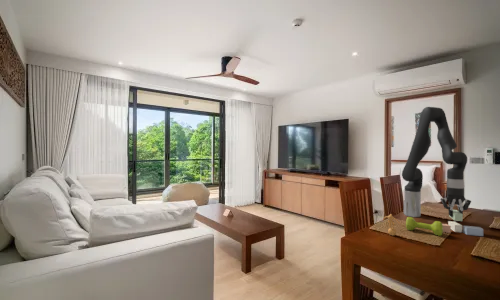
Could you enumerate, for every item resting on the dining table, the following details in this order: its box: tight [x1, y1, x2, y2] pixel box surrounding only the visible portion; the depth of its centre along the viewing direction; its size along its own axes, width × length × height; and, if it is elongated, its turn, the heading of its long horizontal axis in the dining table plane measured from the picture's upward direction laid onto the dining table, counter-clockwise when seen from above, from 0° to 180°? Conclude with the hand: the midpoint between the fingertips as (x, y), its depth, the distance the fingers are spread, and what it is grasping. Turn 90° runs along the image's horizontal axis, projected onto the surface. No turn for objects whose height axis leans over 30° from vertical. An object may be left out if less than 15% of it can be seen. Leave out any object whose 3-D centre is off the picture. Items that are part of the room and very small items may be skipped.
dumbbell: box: [405, 216, 444, 237], centre depth 128 cm, size 16×8×7 cm, turn 50°
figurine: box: [382, 213, 401, 236], centre depth 123 cm, size 8×6×12 cm
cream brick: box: [447, 220, 463, 233], centre depth 131 cm, size 3×7×4 cm, turn 163°
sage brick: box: [448, 209, 464, 222], centre depth 131 cm, size 3×7×4 cm, turn 159°
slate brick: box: [462, 225, 484, 237], centre depth 124 cm, size 7×3×4 cm, turn 70°
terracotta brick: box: [442, 223, 452, 234], centre depth 129 cm, size 7×3×4 cm, turn 69°
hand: (455, 216), depth 131 cm, fingers closed on sage brick, 3 cm apart
